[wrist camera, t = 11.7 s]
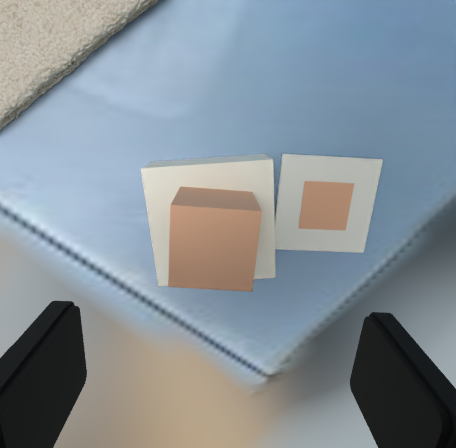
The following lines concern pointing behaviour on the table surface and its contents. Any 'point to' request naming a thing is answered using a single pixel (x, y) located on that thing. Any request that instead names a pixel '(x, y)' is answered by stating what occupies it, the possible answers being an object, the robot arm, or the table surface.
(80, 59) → the washcloth
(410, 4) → the table surface
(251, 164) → the base block
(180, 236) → the terracotta block
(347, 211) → the card
